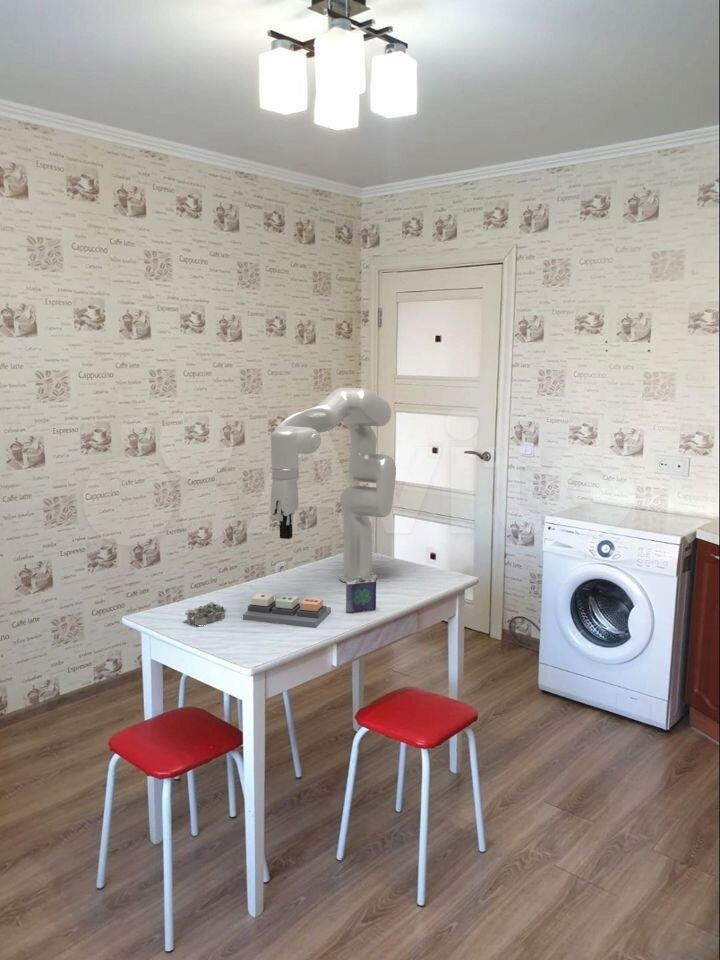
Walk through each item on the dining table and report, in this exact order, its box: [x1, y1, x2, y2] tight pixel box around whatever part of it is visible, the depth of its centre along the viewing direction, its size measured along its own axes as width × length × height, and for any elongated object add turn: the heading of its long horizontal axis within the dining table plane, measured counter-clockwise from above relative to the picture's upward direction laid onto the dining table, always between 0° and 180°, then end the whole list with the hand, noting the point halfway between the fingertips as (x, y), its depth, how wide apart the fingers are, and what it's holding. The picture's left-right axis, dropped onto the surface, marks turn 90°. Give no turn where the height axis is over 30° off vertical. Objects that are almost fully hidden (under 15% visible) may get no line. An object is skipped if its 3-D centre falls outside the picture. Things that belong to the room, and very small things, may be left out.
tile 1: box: [250, 592, 276, 606], centre depth 219 cm, size 5×5×2 cm
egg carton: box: [184, 601, 228, 627], centre depth 215 cm, size 11×8×4 cm
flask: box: [345, 575, 377, 614], centre depth 222 cm, size 9×3×11 cm, turn 109°
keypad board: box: [242, 600, 332, 629], centre depth 218 cm, size 13×22×3 cm, turn 73°
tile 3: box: [299, 597, 324, 611], centre depth 215 cm, size 5×5×2 cm
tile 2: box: [275, 595, 299, 609], centre depth 217 cm, size 5×5×2 cm
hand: (286, 537), depth 214 cm, fingers closed
